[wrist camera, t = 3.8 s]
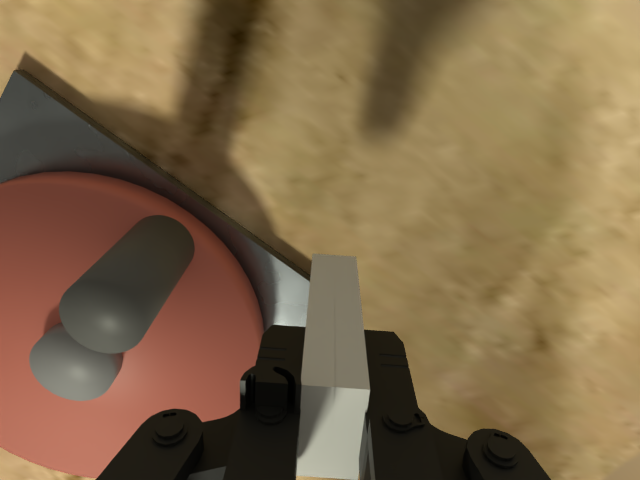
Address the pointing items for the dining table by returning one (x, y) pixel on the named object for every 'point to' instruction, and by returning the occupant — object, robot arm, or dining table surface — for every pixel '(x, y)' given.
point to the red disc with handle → (112, 317)
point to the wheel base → (129, 165)
